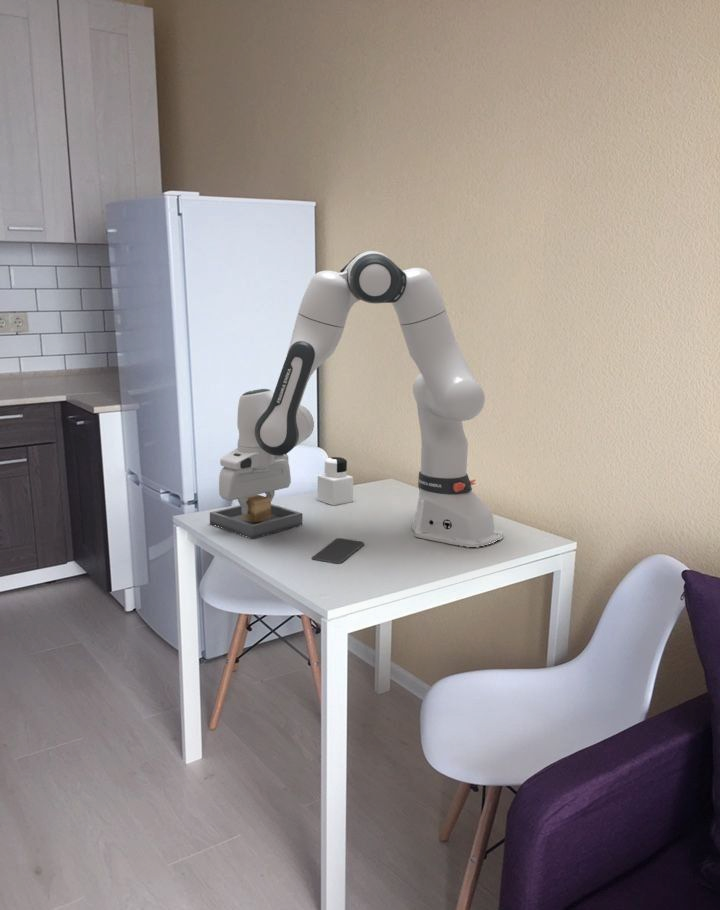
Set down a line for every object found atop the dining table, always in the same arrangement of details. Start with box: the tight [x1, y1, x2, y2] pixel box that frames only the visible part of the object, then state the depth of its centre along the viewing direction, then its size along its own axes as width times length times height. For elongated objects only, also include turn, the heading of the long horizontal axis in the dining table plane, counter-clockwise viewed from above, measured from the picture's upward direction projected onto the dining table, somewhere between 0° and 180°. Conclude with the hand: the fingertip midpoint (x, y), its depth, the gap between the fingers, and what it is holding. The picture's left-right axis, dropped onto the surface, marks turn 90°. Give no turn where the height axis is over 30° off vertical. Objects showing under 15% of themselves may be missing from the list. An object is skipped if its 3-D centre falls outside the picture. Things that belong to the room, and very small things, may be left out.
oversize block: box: [242, 494, 272, 522], centre depth 198 cm, size 5×5×5 cm
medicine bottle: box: [317, 456, 354, 506], centre depth 220 cm, size 7×7×12 cm
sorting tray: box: [209, 503, 303, 540], centre depth 198 cm, size 16×16×3 cm
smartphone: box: [311, 537, 365, 565], centre depth 180 cm, size 7×1×15 cm
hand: (256, 511), depth 198 cm, fingers closed on oversize block, 5 cm apart
